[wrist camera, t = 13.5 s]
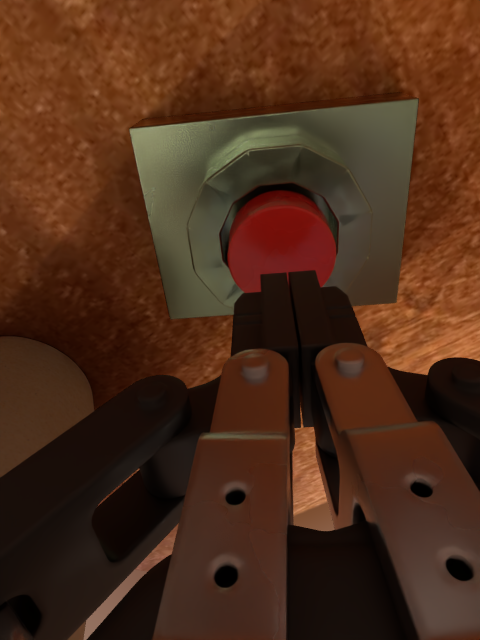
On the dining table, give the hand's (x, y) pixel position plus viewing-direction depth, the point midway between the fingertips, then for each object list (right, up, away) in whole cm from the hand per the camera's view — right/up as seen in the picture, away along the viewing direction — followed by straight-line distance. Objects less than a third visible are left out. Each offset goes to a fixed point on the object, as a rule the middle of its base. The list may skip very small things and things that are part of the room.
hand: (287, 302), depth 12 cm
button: (0, +2, +4) cm, 4 cm away
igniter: (0, +4, +7) cm, 8 cm away
